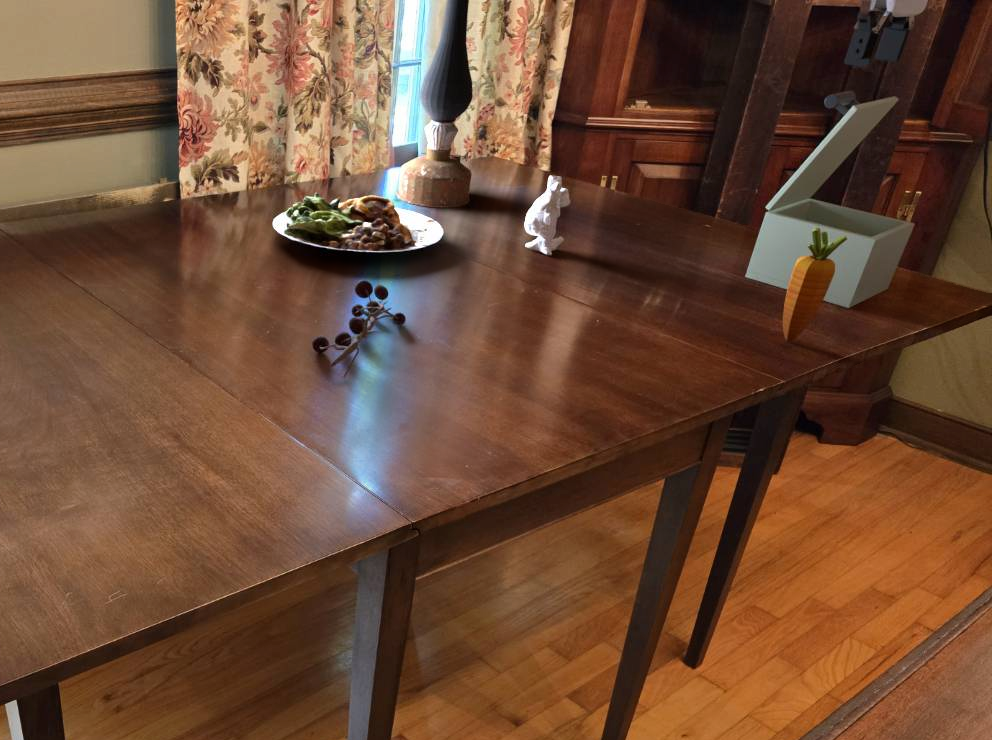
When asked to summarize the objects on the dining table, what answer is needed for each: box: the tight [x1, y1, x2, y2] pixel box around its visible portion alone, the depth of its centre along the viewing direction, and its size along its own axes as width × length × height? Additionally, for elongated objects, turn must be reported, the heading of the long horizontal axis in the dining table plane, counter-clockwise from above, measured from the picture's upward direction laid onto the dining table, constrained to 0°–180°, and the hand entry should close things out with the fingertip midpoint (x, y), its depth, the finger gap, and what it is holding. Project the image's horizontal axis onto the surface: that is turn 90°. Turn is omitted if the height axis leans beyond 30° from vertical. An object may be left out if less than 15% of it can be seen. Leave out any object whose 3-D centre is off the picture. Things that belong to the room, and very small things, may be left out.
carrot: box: [782, 228, 847, 343], centre depth 124 cm, size 5×5×15 cm
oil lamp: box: [396, 0, 474, 209], centre depth 169 cm, size 14×15×40 cm
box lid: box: [765, 90, 900, 211], centre depth 142 cm, size 17×14×6 cm
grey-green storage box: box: [744, 197, 916, 309], centre depth 146 cm, size 16×14×10 cm
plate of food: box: [272, 192, 444, 253], centre depth 157 cm, size 28×28×6 cm
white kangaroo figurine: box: [524, 174, 571, 256], centre depth 154 cm, size 8×7×12 cm
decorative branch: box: [311, 279, 407, 379], centre depth 122 cm, size 11×9×30 cm
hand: (871, 62), depth 132 cm, fingers open, 9 cm apart
